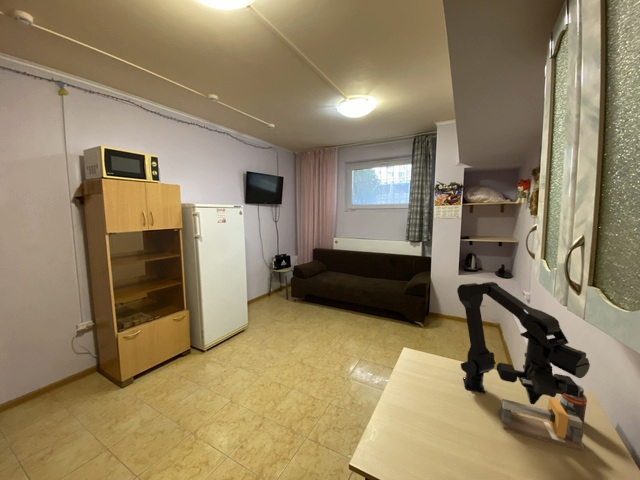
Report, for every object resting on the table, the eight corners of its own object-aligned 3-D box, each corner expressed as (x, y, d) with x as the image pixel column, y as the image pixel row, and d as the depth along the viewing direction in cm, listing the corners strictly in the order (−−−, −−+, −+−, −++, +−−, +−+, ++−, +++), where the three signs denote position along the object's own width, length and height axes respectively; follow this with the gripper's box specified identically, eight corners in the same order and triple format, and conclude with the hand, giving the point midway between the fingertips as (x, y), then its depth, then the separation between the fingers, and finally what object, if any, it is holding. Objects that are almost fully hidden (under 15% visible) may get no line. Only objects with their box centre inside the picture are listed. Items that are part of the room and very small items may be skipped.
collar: (546, 417, 82) (549, 397, 81) (554, 419, 81) (557, 399, 80) (556, 435, 75) (559, 414, 74) (565, 438, 75) (568, 416, 74)
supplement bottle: (578, 414, 86) (583, 383, 85) (587, 428, 81) (593, 395, 79) (555, 408, 89) (559, 378, 87) (562, 421, 83) (567, 389, 82)
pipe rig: (498, 412, 87) (500, 393, 86) (571, 431, 80) (574, 410, 79) (503, 429, 80) (506, 408, 79) (583, 451, 73) (587, 429, 72)
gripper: (509, 364, 73) (502, 413, 76) (595, 381, 67) (586, 435, 69) (498, 344, 84) (493, 388, 86) (573, 357, 77) (565, 405, 79)
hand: (531, 403), depth 80 cm, fingers closed
